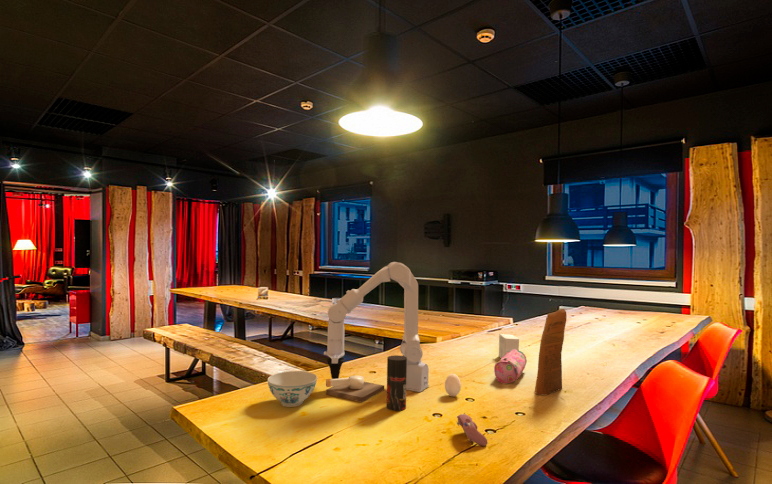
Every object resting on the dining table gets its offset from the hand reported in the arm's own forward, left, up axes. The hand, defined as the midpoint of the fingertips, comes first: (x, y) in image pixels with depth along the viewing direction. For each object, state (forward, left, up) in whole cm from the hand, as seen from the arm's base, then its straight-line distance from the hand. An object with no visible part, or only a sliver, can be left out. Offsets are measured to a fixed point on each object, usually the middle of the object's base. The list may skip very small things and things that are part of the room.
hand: (335, 379), depth 147 cm
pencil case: (-48, -48, -4) cm, 68 cm away
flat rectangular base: (-8, -1, -3) cm, 9 cm away
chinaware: (+3, +18, -3) cm, 19 cm away
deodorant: (-26, +4, -3) cm, 26 cm away
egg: (-37, -15, -3) cm, 40 cm away
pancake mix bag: (-64, -39, -3) cm, 75 cm away
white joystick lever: (-5, +2, -1) cm, 6 cm away
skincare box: (-41, -74, -3) cm, 85 cm away
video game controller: (-52, +13, -3) cm, 54 cm away
